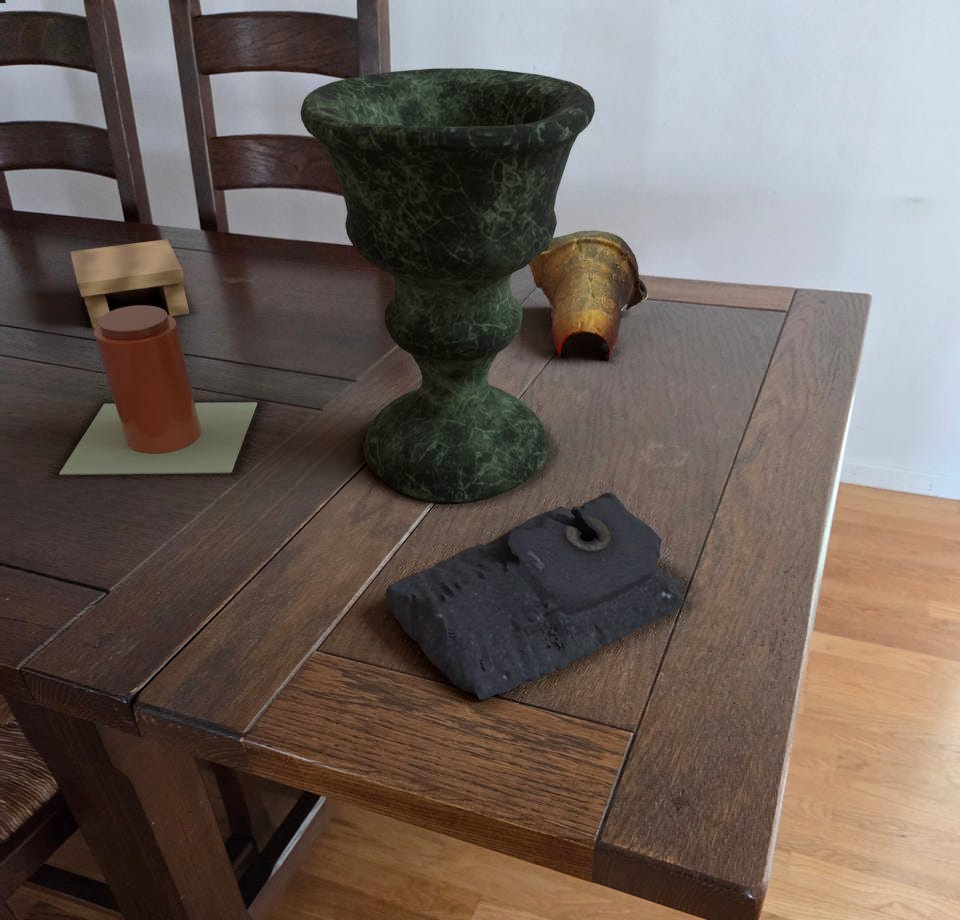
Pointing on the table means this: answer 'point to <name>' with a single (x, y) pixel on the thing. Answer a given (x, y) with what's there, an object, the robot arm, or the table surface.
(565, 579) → the grey block with grommet
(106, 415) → the mat
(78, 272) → the stand
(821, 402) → the table surface
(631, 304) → the pot
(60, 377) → the table surface
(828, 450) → the table surface
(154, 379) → the canister
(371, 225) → the goblet
